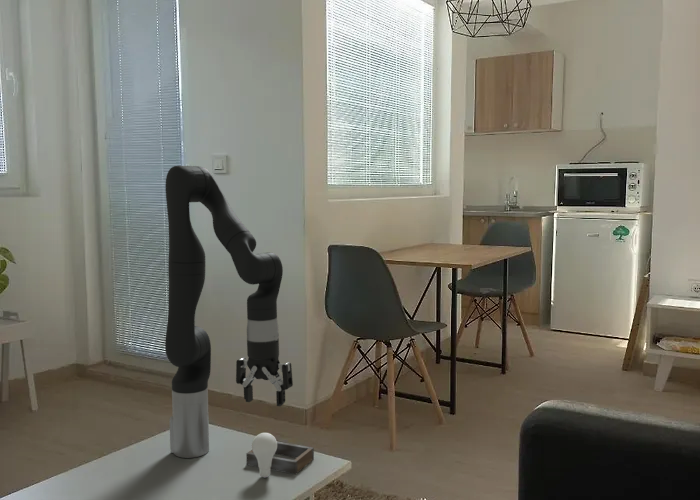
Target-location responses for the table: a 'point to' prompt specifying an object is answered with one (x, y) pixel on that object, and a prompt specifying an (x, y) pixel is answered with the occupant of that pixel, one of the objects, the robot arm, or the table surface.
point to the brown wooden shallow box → (286, 465)
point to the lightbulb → (264, 452)
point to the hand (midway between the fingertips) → (264, 403)
